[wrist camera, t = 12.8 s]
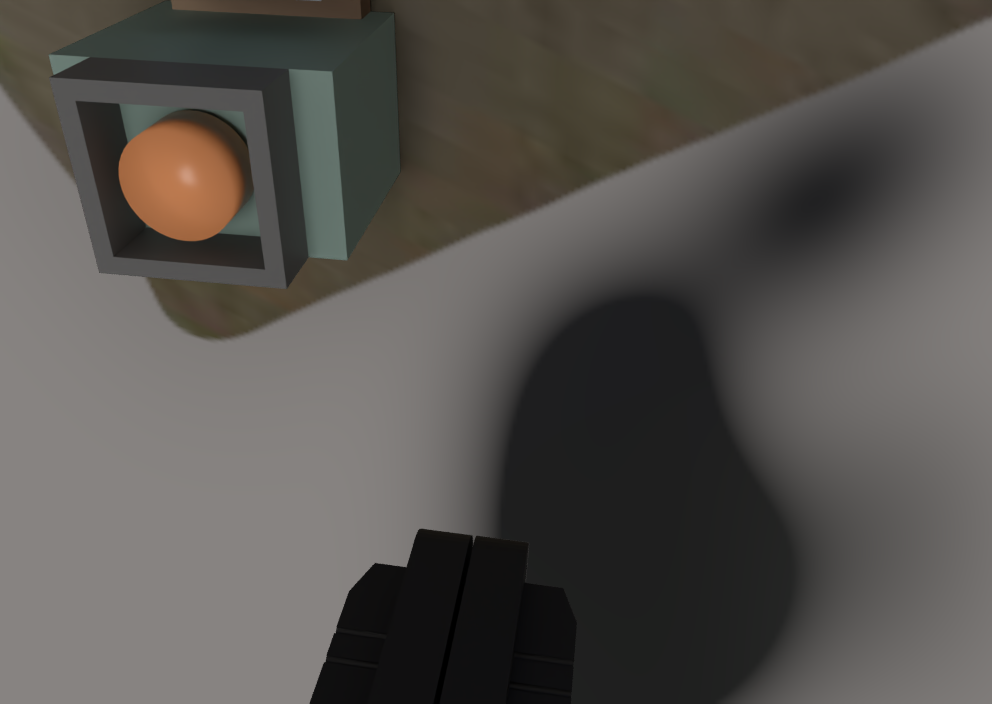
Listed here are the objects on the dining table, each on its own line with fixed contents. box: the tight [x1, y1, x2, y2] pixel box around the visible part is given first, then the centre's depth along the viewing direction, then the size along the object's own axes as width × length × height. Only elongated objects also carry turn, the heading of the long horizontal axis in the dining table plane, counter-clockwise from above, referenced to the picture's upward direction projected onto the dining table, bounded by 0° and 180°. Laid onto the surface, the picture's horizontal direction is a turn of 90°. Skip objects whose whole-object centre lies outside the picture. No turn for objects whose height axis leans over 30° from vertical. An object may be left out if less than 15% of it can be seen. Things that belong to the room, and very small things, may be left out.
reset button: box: [119, 110, 254, 241], centre depth 30 cm, size 4×4×2 cm
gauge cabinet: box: [49, 1, 400, 289], centre depth 34 cm, size 7×10×12 cm, turn 89°
